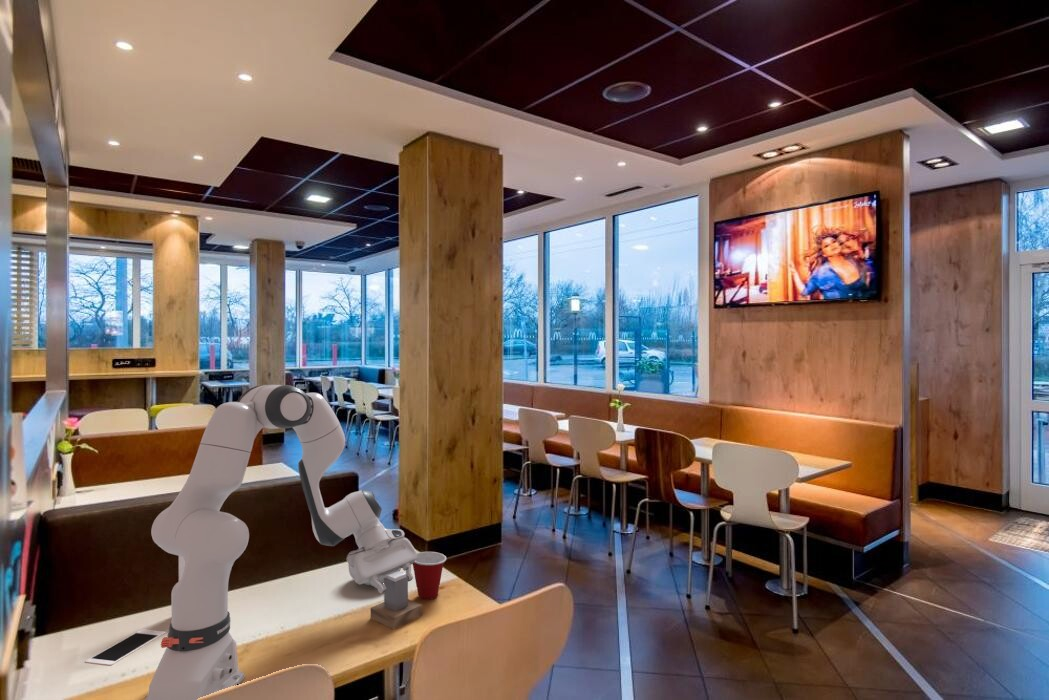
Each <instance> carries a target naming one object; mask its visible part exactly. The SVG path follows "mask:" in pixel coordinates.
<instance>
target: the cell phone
mask: <svg viewBox="0 0 1049 700" xmlns="http://www.w3.org/2000/svg"><path fill="white" fill-rule="evenodd" d="M165 634H166V631H161V630H154V629H153V630H152V629H145V628H144V629H139V630H138V631H136V632H134V633H132V634H130V635H129V636H127V637H125V638H123V639H121V640H119V641H118V642H116V643H115V644H113V645H111V646H109V647H107V648H106V649H104V650H102V651H100V652H99V653H96V654H95V655H93V656H91V657H90V658H88V659H86V660H85V661H84V662H85V663H86V664H92V665H93V664H96V665H103V666H113V665H114V664H116V663H118V662H120V661H122V660H123V659H125V658H126V657H128V656H130V655H131V654H133V653H135V652H136V651H138V650H140V649H141V648H143V647H145V646H146V645H148V644H150V643H151V642H153V641H154V640H155V641H156V640H157V639H158V638H159V637H161V636H163V635H165Z"/></svg>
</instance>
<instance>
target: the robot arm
mask: <svg viewBox="0 0 1049 700" xmlns="http://www.w3.org/2000/svg"><path fill="white" fill-rule="evenodd" d="M263 428H265V429H270V430H273V429H274V430H277V429H293V431H294V432H295V433H296V436H297V438H298V440H299V442H300V444H301V448H302V457H301V459H300V460H299V461H298V465H297V466H298V474H299V478H300V482H301V483H300V484H301V487H302V490H303V494H304V497H305V501H306V504H307V507H308V510H309V511H308V512H309V513H310V518H311V526H312V532H313V534H314V537H315V539H316V540H317V542H318V543H319V544H320V545H322V546H327V547H335V546H337V545H338V544H339V543H340V542H342V541H344V540H345V538H347V537H350V536H351V535H353V536H354V539H355V544H356V545H357V547H358V548H357V549H356V550H352V551H350V552H348V554H347V555H346V561H347V564H348V565H350V568H351V572H352V575H353V577H354V579H353V580H354V582H355V583H356V584H358V585H362V584H363V583H366V582H368V581H369V582H370V584H371V585H372V586H371V587H374V588H375V589H377V591H378V593H379V594H382V593H383V594H384V592H385V591H386V590H387V588H386V586H385V584H381V583H380V582H379V581H378V580H377V579H378V577H381V576H383V575H386V574H388V573H391V572H394V571H396V570H399V569H401V570H403V572H405V573H406V577H408V583H409V582H412V580H413V579H414V576H413V574H412V565H413V563H414V562H415V561H416V559H417V553H418V552H417V551H416V549H415V547H414V545H413V544H412V542H411V541H410V539H408V538H407V537H405V534H406V533H405V532H404V530H402V529H394V528H393V529H392V528H391V529H390V528H385V525H383V523H382V522H381V520H380V517H381V513H382V507H381V505H380V504H379V503H378V502H377V500H376V497H375V494H374V493H373V491H370V490H366V489H360V490H358V491H354V492H350V493H349V494H347V495H345V497H343V499H341V500H339V501H337V502H336V503H334V504H332V505H330V506H329V507H325V504H324V501H323V497H322V494H321V490H320V481H321V479H322V477H323V476H324V474H326V472H327V471H328V470H329V468H330V467H331V466H333V464H335V463H336V461H337V460H338V459H339V458H340V456H341V455H342V453H343V451H344V449H345V447H346V436H345V433H344V430H343V427H342V425H341V423H340V421H339V419H338V417H337V415H336V413H335V412H334V410H333V408H332V407H331V405H330V404H329V402H328V401H327V400H326V399H325V398H324V396H323V395H322V394H321V393H319V392H304V390H302V389H300V388H299V387H296V386H293V385H291V384H290V385H289V384H283V385H282V384H265V385H256V386H253V387H251V388H249V389H247V390H245V392H243V393H242V394H241V396H240V397H239V398H238V399H237V400H236V401H228V402H224V403H222V404H220V405H218V406H217V407H216V408H215V410H214V412H213V414H212V415H211V417H210V419H209V421H208V423H207V425H206V427H205V429H204V432H203V435H202V437H201V441H200V442H199V446H198V448H197V453H196V456H195V459H194V461H193V464H192V466H191V469H190V473H189V475H188V478H187V479H186V481H185V483H184V485H183V486H182V488H181V490H180V491H179V493H178V495H177V496H176V497H175V499H174V500H173V502H172V503H171V504H170V505H169V506H168V507H166V508H165V509H164V510H162V511H161V512H160V513H159V514H158V515H157V516H156V518H155V519H154V520H153V523H152V526H151V533H150V534H151V537H152V541H153V542H154V544H156V545H157V546H158V547H159V548H161V550H163V551H164V552H166V553H168V554H171V555H175V556H178V557H179V556H181V557H183V558H184V561H185V567H184V572H183V576H182V578H181V580H180V581H179V580H178V582H176V583H175V584H174V586H173V587H172V590H171V595H170V596H171V598H170V599H171V600H170V601H171V606H170V607H171V610H170V611H171V622H170V624H169V628H168V631H167V635H166V637H165V636H164V637H163V638H161V641H160V648H163V649H164V648H166V649H165V651H164V653H163V655H162V657H161V658H160V661H159V663H158V666H157V667H156V670H155V672H154V674H153V676H152V679H151V681H150V683H149V685H148V686H149V687H148V693H147V695H146V697H145V698H144V700H197V699H198V698H200V697H203V696H206V695H209V694H211V693H214V692H217V691H219V690H222V689H225V688H228V687H231V686H234V685H237V684H238V685H239V684H240V683H242V682H243V681H244V680H245V678H246V677H245V673H244V672H243V671H242V670H240V669H239V661H238V657H239V656H238V649H237V642H236V641H235V639H234V638H233V637H232V635H231V633H230V629H231V616H230V615H231V614H230V611H229V610H228V609H229V606H228V605H229V604H228V603H229V602H228V600H229V599H228V597H229V595H228V594H229V579H230V575H231V572H232V567H233V566H234V563H235V561H236V560H237V559H239V558H240V557H241V556H242V554H244V551H246V548H247V546H248V543H249V539H250V532H249V528H248V526H247V524H246V523H245V522H244V521H243V520H241V519H240V518H238V517H237V516H235V515H233V514H231V513H229V512H224V511H220V510H221V508H222V506H223V504H224V502H225V501H226V500H227V498H228V497H229V496H230V495H231V494H232V493H234V492H235V491H237V490H238V489H239V488H240V487H241V486H242V484H243V481H244V477H245V473H246V471H247V467H248V464H249V460H250V457H251V454H252V453H251V452H252V450H253V446H254V441H255V439H256V437H257V435H258V434H259V432H260V431H261V430H262V429H263ZM238 685H237V686H238Z"/></svg>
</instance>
